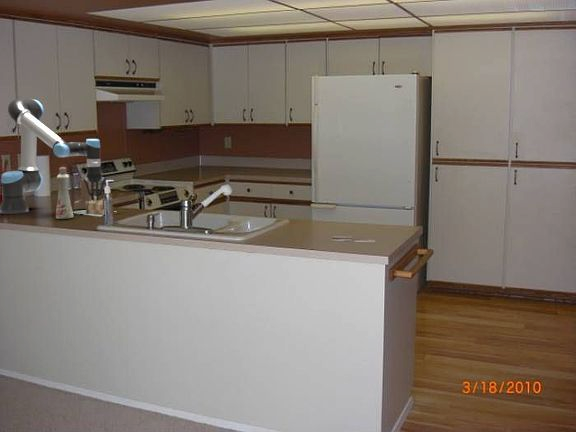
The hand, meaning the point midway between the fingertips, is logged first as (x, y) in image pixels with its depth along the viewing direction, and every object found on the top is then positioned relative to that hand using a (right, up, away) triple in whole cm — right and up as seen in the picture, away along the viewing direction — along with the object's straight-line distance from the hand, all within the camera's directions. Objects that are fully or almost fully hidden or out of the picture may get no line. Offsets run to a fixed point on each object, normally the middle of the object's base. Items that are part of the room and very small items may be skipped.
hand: (95, 207), depth 398 cm
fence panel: (+1, -2, -2) cm, 4 cm away
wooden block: (-11, -1, +13) cm, 17 cm away
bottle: (-10, -7, -24) cm, 26 cm away
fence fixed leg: (+3, -5, -12) cm, 13 cm away
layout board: (+1, -3, -4) cm, 5 cm away
